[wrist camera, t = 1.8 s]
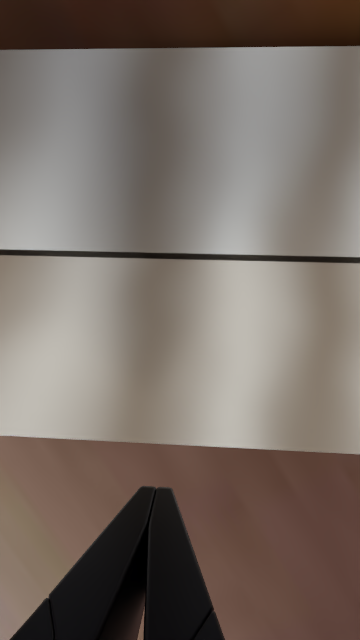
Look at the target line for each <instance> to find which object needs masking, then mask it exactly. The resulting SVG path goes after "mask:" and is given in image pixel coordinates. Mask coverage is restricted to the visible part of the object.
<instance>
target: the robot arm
mask: <svg viewBox="0 0 360 640" xmlns="http://www.w3.org/2000/svg"><path fill="white" fill-rule="evenodd" d="M144 606H145V614H144V639H143V640H225V638H224V636H223V633H222V630H221V627H220V625H219V622H218V619H217V616H216V613H215V612H214V608H213V605H212V602H211V599H210V596H209V593H208V591H207V588H206V585H205V582H204V579H203V576H202V573H201V570H200V567H199V565H198V562H197V559H196V556H195V553H194V550H193V547H192V544H191V541H190V539H189V536H188V533H187V530H186V527H185V524H184V521H183V518H182V515H181V513H180V510H179V507H178V504H177V501H176V498H175V495H174V492H173V490H172V488H169V487H158V488H157V489H156V488H155V487H152V486H142V487H140V488H139V489H138V491H137V492H136V493H135V494H134V495H133V497H132V498H131V499H130V500H129V501H128V502H127V504H126V505H125V506H124V507H123V508H122V509H121V511H120V512H119V513H118V514H117V515H116V517H115V518H114V519H113V520H112V521H111V522H110V524H109V525H108V526H107V527H106V528H105V529H104V531H103V532H102V533H101V534H100V535H99V537H98V538H97V539H96V540H95V541H94V542H93V544H92V545H91V546H90V547H89V548H88V549H87V551H86V552H85V553H84V554H83V555H82V557H81V558H80V559H79V560H78V561H77V562H76V564H75V565H74V566H73V567H72V568H71V570H70V571H69V572H68V573H67V574H66V575H65V577H64V578H63V579H62V580H61V581H60V582H59V584H58V585H57V586H56V587H55V588H54V590H53V591H52V592H51V593H50V594H49V598H46V599H45V600H44V601H43V602H42V603H41V605H40V606H39V607H38V608H37V609H36V610H35V612H34V613H33V614H32V615H31V616H30V617H29V619H28V620H27V621H26V622H25V623H24V624H23V625H22V626H21V628H20V629H19V630H18V631H17V632H16V633H15V634H14V635H13V637H12V638H11V639H10V640H137V638H138V633H139V629H140V624H141V619H142V615H143V610H144Z"/></svg>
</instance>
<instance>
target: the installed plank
mask: <svg viewBox="0 0 360 640" xmlns="http://www.w3.org/2000/svg"><path fill="white" fill-rule="evenodd" d="M0 255H13V256H56V257H100V258H144V259H187V260H231V261H275V262H318V263H360V46H322V47H229V48H136V49H43V50H0Z"/></svg>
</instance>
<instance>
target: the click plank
mask: <svg viewBox="0 0 360 640" xmlns="http://www.w3.org/2000/svg"><path fill="white" fill-rule="evenodd" d="M0 435H3V436H22V437H41V438H60V439H79V440H98V441H117V442H136V443H155V444H174V445H193V446H212V447H231V448H250V449H270V450H289V451H308V452H327V453H346V454H360V263H318V262H275V261H231V260H187V259H144V258H100V257H56V256H13V255H0Z"/></svg>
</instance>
